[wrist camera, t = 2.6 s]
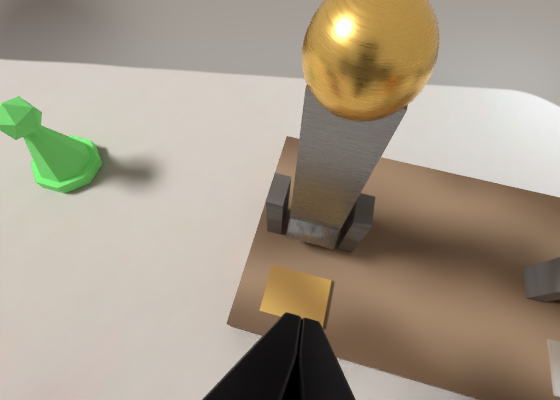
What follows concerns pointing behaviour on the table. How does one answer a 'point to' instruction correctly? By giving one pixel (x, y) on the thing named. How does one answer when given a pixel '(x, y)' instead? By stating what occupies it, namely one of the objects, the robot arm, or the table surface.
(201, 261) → the table surface
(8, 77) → the table surface
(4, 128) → the game piece
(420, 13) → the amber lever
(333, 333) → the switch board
